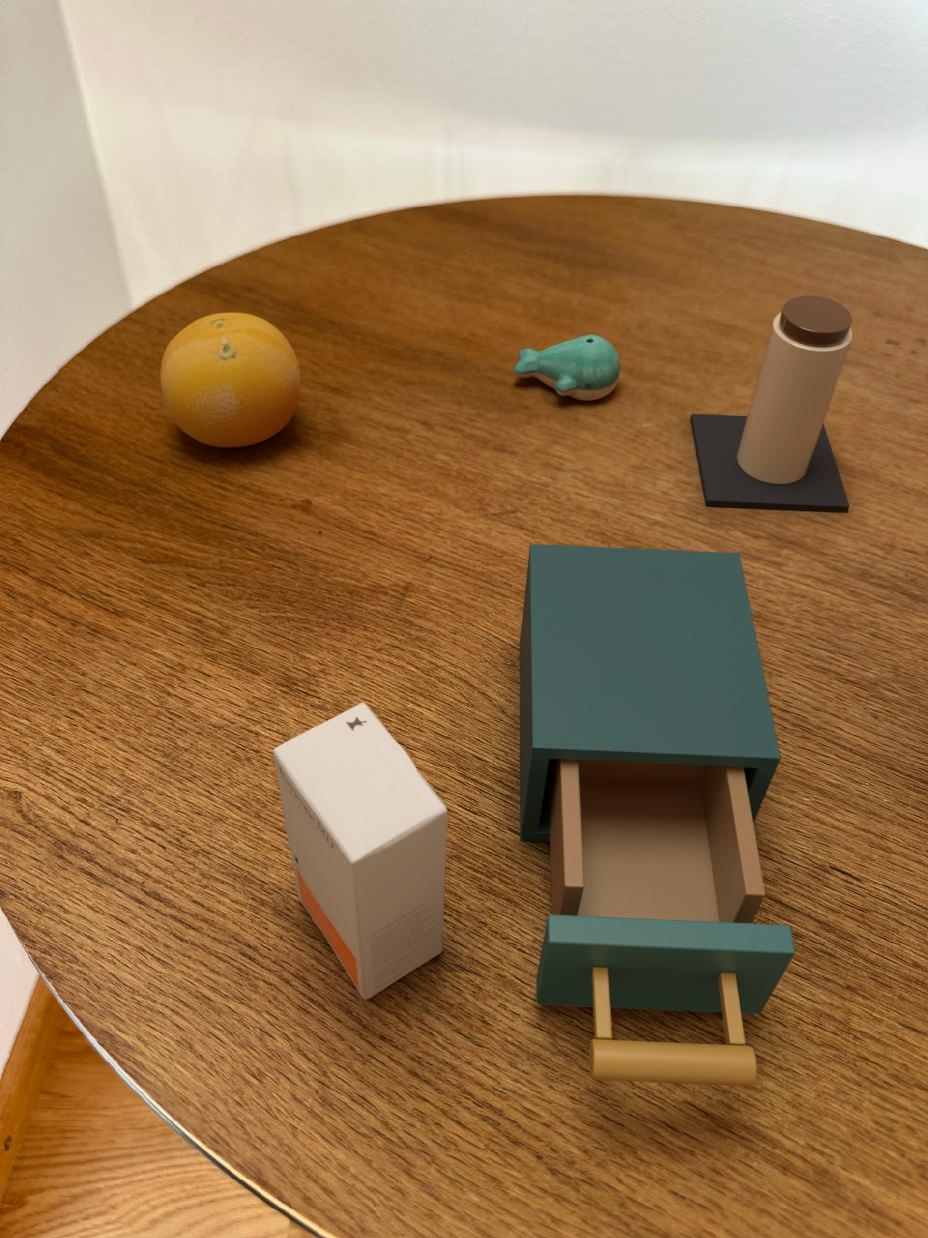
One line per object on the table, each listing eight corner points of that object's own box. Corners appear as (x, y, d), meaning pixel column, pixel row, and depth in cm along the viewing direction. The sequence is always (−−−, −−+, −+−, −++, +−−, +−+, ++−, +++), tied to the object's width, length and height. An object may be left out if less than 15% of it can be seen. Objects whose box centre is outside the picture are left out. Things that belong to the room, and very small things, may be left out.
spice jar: (822, 469, 70) (874, 320, 62) (771, 493, 68) (818, 343, 60) (772, 431, 73) (816, 284, 65) (721, 454, 71) (760, 305, 63)
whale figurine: (610, 416, 74) (617, 369, 71) (506, 398, 75) (509, 351, 72) (622, 369, 78) (629, 323, 75) (523, 352, 79) (527, 306, 76)
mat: (820, 424, 74) (822, 418, 74) (847, 512, 68) (849, 506, 68) (690, 418, 74) (691, 413, 74) (705, 505, 68) (707, 499, 68)
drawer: (777, 1121, 42) (817, 1066, 38) (537, 1110, 42) (551, 1054, 38) (724, 784, 53) (751, 712, 49) (533, 776, 53) (543, 703, 49)
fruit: (189, 483, 68) (167, 377, 62) (159, 411, 73) (136, 306, 67) (321, 450, 71) (313, 345, 65) (284, 383, 76) (272, 279, 70)
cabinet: (742, 851, 51) (781, 758, 46) (520, 841, 51) (532, 747, 46) (710, 651, 60) (739, 552, 54) (519, 642, 60) (529, 543, 54)
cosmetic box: (294, 900, 49) (267, 744, 40) (374, 853, 51) (365, 695, 42) (364, 1008, 46) (350, 865, 37) (447, 955, 47) (453, 806, 39)
